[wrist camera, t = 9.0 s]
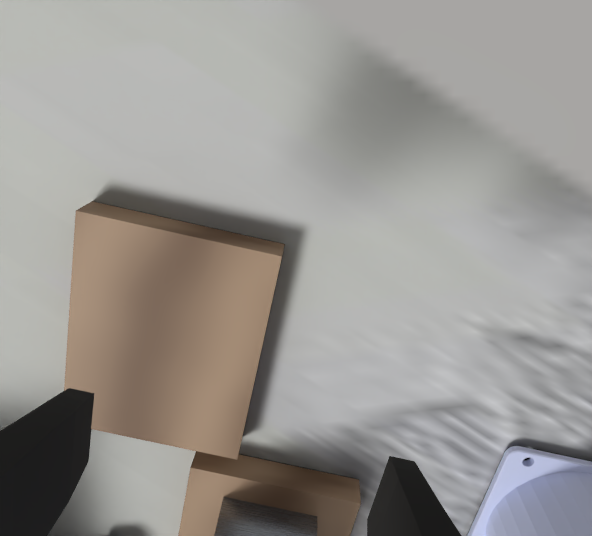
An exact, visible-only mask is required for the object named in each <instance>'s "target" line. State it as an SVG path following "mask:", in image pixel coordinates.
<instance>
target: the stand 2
mask: <svg viewBox="0 0 592 536" xmlns="http://www.w3.org/2000/svg"><path fill="white" fill-rule="evenodd" d="M223 497H228V498H233V499H238V500H242V501H247V502H252V503H257V504H261V505H266V506H271V507H276V508H280V509H285V510H290V511H295V512H299V513H304V514H309V515H313V516H317V536H350V534H351V531H352V528H353V525H354V522H355V519H356V516H357V513H358V511H359V508H360V505H361V498H360V486H359V480H358V479H353V478H349V477H344V476H339V475H334V474H330V473H325V472H320V471H315V470H311V469H306V468H301V467H296V466H292V465H287V464H282V463H278V462H273V461H268V460H263V459H259V458H254V457H249V456H244V455H240V454H238V459H237V460H236V459H231V458H227V457H222V456H217V455H212V454H208V453H203V452H198V451H196V453H195V456H194V459H193V462H192V465H191V469H190V474H189V480H188V485H187V491H186V496H185V502H184V507H183V513H182V519H181V524H180V530H179V535H178V536H214V534H215V530H216V526H217V522H218V517H219V513H220V509H221V505H222V501H223Z"/></svg>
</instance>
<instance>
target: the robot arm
mask: <svg viewBox="0 0 592 536" xmlns="http://www.w3.org/2000/svg"><path fill="white" fill-rule="evenodd" d="M93 403H94V393H90V392H86V391H81V390H76V389H72V388H68V389H67V390H65V391H63V392H62V393H60V394H58V395H57V396H55V397H54V398H52V399H50V400H49V401H47V402H46V403H44V404H43V405H41V406H39V407H38V408H36V409H35V410H33V411H32V412H30V413H28V414H27V415H25V416H24V417H22V418H21V419H19V420H17V421H16V422H14V423H12V424H11V425H9V426H7V427H6V428H4V429H3V430H1V431H0V536H47V535H48V533H49V532H50V530H51V529H52V527H53V526H54V524H55V522H56V521H57V519H58V518H59V516H60V514H61V513H62V511H63V510H64V508H65V507H66V505H67V503H68V502H69V500H70V498H71V496H72V494H73V492H74V490H75V488H76V486H77V484H78V482H79V480H80V478H81V475H82V473H83V471H84V469H85V467H86V465H87V463H88V459H89V448H90V437H91V426H92V415H93ZM525 458H530V459H529V460H526V461H523V460H524V459H525ZM367 536H461V534H460V533H459V531H458V530H457V528H456V527H455V525H454V524H453V522H452V521H451V519H450V518H449V516H448V515H447V513H446V512H445V510H444V508H443V507H442V505H441V504H440V502H439V500H438V499H437V497H436V496H435V494H434V492H433V491H432V489H431V487H430V486H429V484H428V483H427V481H426V479H425V478H424V476H423V474H422V473H421V471H420V470H419V468H418V466H417V465H416V463H415V462H414V461H410V460H405V459H401V458H396V457H391V456H390V457H389V460H388V463H387V465H386V468H385V471H384V474H383V477H382V480H381V482H380V485H379V488H378V491H377V494H376V497H375V499H374V502H373V505H372V508H371V511H370V514H369V516H368V519H367ZM467 536H592V462H591V461H586V460H581V459H577V458H572V457H567V456H563V455H558V454H554V453H549V452H544V451H540V450H535V449H530V448H526V447H521V446H513V447H510V448H508V449H507V450H506V451H505V453H504V455H503V457H502V460H501V462H500V464H499V466H498V468H497V471H496V473H495V475H494V477H493V480H492V482H491V484H490V486H489V488H488V491H487V493H486V495H485V497H484V500H483V502H482V504H481V506H480V508H479V511H478V513H477V515H476V517H475V519H474V522H473V524H472V526H471V528H470V531H469V533H468V535H467Z"/></svg>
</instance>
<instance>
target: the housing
mask: <svg viewBox="0 0 592 536" xmlns="http://www.w3.org/2000/svg"><path fill="white" fill-rule="evenodd" d="M214 536H317V516H313V515H309V514H304V513H299V512H295V511H290V510H285V509H280V508H276V507H271V506H266V505H261V504H257V503H252V502H247V501H242V500H238V499H233V498H228V497H223V501H222V505H221V509H220V513H219V517H218V522H217V526H216V530H215V534H214Z"/></svg>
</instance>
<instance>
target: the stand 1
mask: <svg viewBox="0 0 592 536" xmlns="http://www.w3.org/2000/svg"><path fill="white" fill-rule="evenodd" d="M284 246H285V244H282V243H277V242H273V241H268V240H264V239H259V238H255V237H250V236H246V235H241V234H237V233H232V232H228V231H223V230H219V229H214V228H210V227H205V226H201V225H196V224H192V223H187V222H183V221H178V220H174V219H169V218H165V217H160V216H156V215H151V214H147V213H142V212H138V211H133V210H129V209H124V208H120V207H115V206H111V205H106V204H102V203H97V202H93V201H92V202H90V203H89V204H87V205H85V206H83V207H82V208H80V209H78V210H76V216H75V232H74V247H73V263H72V278H71V294H70V309H69V324H68V340H67V355H66V371H65V386H64V391H65V390H67V389H68V388H72V389H76V390H81V391H86V392H90V393H94V403H93V415H92V426H91V429H94V430H99V431H103V432H108V433H113V434H118V435H122V436H127V437H132V438H137V439H141V440H146V441H151V442H156V443H160V444H165V445H170V446H175V447H179V448H184V449H189V450H193V451H198V452H203V453H208V454H212V455H217V456H222V457H227V458H231V459H236V460H237V459H238V454H239V450H240V445H241V441H242V436H243V432H244V427H245V423H246V418H247V414H248V409H249V405H250V400H251V396H252V391H253V386H254V382H255V377H256V373H257V368H258V364H259V359H260V355H261V350H262V346H263V341H264V336H265V332H266V327H267V323H268V318H269V314H270V309H271V305H272V300H273V296H274V291H275V286H276V282H277V277H278V273H279V268H280V264H281V259H282V255H283V250H284Z"/></svg>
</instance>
